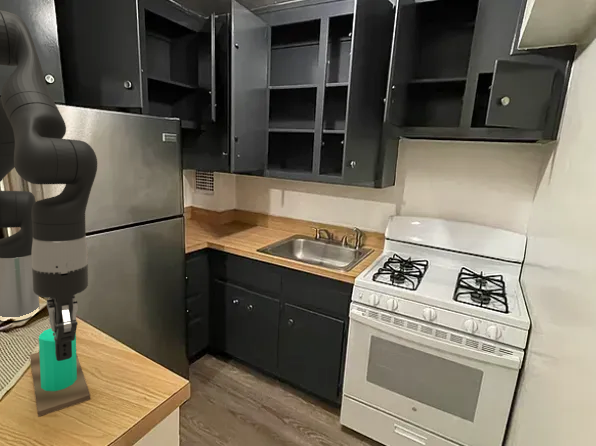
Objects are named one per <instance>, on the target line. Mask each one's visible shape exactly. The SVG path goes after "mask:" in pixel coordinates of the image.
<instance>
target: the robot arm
mask: <svg viewBox="0 0 596 446" xmlns="http://www.w3.org/2000/svg"><path fill="white" fill-rule="evenodd" d="M0 66H7V67H9V66H10V67H16V68H15V69H14V70H13V72H12V73H11V74H10V75H9V76H8V78H7V79H6V81H5V82H4V83H3V86H2V88H1V92H0V93H1V94H0V183H2V181H3V179H4V178H5V177H6V176H7V175H8V174H9V173H10V172H11V171H12V170H13V169H15V171H16V173H17V174H18V175H19V176H20V178H22V179H23V181H26V182H28V183H30V184H33V185H64V188H63V189H62V190H61V192H60V193H59V194H57V195H54V196H52V197H51V196H50V197H47V198H43V199H39V200H37V201H36V198H35V195H34V194H33V192H31V191H29V190H28V191H27V190H26V191H25V190H0V229H2V228H3V229H6V228H7V229H8V228H9V229H10V228H11V229H12V228H20V229H19V230H18V231H17V232H16V233H14V234H11V235H9V236H6V237H4V238H0V316H2V317H20V316H23V315H26V314H29V313H31V312H33V311H34V310H36V309H37V308H38V307H39V308H40V298H46V308H47V310H48V315H49V316H48V317H49V319H48V320H49V325H50V328H51V329H52V331H53V332H54V333H53V336H54V341H55V353H56V359H57V361H62V360H66V359H69V358H71V357H72V341H73V340H74V339H75V334H76V332H77V327H78V324H79V323H78V321H77V312H78V311H79V306H78V301H77V300H76V296H75V295H77V294H81V293H82V292H84V291H86V289H87V288H88V286H89V262H88V260H89V258H88V254H89V253H88V251H89V250H88V244H87V238H86V212H87V211H86V210H87V206H88V202H89V199H90V198H89V197H90V194H91V191H92V188H93V185H94V183H95V182H94V181H95V179H96V176H97V171H98V158H97V155H96V152H95V151H94V149H93V147H92V146H91V145H90V144H89V143H88V142H86V141H83V140H79V139H69V138H64V137H65V135H66V132H67V126H66V123H65V120H64V118H63V116H62V114H61V112H60V110H59V108H58V107H57V104H56V103H55V101H54V99H53V97H52V95H51V93H50V91H49V88H48V85H47V81H46V78H45V76H44V72H43V69H42V65H41V61H40V59H39V55H38V52H37V48H36V46H35V42H34V40H33V37H32V35H31V32H30V30H29V28H28V26H27V24H26V22H25V21H24V20H23V19H22V18H21V17H20V16H19V15H17V14H16V13H13V12H9V11H6V10H1V9H0ZM47 298H48V299H47ZM76 335H77V334H76Z"/></svg>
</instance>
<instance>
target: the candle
mask: <svg viewBox="0 0 596 446" xmlns="http://www.w3.org/2000/svg"><path fill="white" fill-rule="evenodd" d="M53 333H54V332H53V331H52V329H51V327H50V328H47V329H45V330H43V331H42V332H41V333H40V334H39V335H38V351H39V355H40V376H41V388H42V389H44V390H45V391H58V390H62V389H65V388H67V387H69V386H70V385H72V384H73V383H74V382H75V381H76V380H77V362H76V354H77V334H75V339H74V340H73V341H72V357H71V358H69V359H66V360H62V361H57V359H56V353H55V341H54V336H53Z"/></svg>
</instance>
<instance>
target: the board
mask: <svg viewBox="0 0 596 446" xmlns="http://www.w3.org/2000/svg"><path fill="white" fill-rule="evenodd" d="M30 359H31V361H30V368H31V374H32V382H33V389H34V397H35V404H36V409H37V417H41V416H44V415H47V414H50V413H54V412H55V411H59V410H62V409H66V408H69V407H71V406H74V405H78V404H81V403H83V402H86V401H89V400H91V393H90V389H89V387H88V384H87V381H86V378H85V375H84V373H83V369H82V367H81V364H80V363H81V362H80V360H79V358H78V354H77V353H76V362H77V380H76V381H75V382H74V383H73V384H72V385H70V386H69V387H67V388H65V389H62V390H58V391H45V390H44V389H42V388H41V376H40V355H39V352H34V353H30V354H29V360H30Z"/></svg>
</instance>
